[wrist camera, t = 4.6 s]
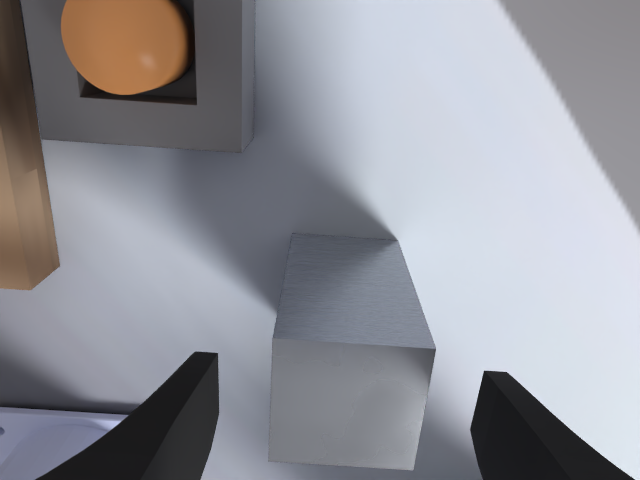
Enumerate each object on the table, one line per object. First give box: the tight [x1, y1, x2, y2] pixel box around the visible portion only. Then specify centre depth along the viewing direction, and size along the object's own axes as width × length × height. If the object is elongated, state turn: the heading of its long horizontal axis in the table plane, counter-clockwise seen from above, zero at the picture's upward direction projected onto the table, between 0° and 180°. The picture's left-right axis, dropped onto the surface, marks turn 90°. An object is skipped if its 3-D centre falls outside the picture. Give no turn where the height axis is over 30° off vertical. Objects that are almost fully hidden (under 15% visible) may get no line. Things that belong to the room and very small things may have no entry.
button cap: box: [61, 0, 195, 95], centre depth 13 cm, size 3×3×2 cm
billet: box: [268, 233, 436, 470], centre depth 16 cm, size 4×4×7 cm
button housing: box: [21, 0, 255, 153], centre depth 15 cm, size 6×6×2 cm
